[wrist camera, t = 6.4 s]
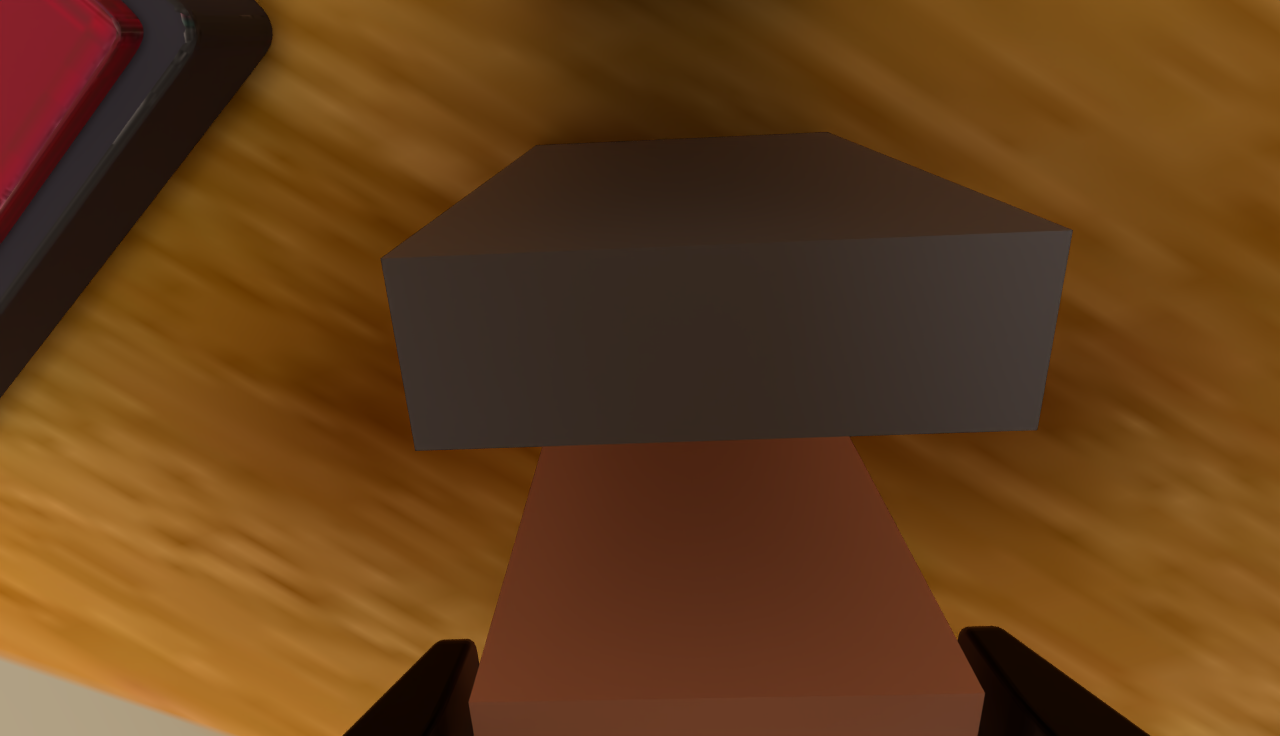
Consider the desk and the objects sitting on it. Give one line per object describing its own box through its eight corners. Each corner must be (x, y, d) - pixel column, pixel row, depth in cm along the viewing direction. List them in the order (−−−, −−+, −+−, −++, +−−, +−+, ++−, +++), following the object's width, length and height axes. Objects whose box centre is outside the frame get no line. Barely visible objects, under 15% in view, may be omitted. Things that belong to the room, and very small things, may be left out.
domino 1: (827, 132, 13) (1072, 230, 5) (822, 224, 13) (1036, 429, 6) (536, 145, 13) (381, 259, 5) (544, 237, 13) (415, 450, 6)
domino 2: (815, 373, 15) (984, 692, 7) (811, 445, 15) (964, 809, 8) (561, 381, 15) (468, 702, 7) (567, 452, 15) (487, 816, 8)
